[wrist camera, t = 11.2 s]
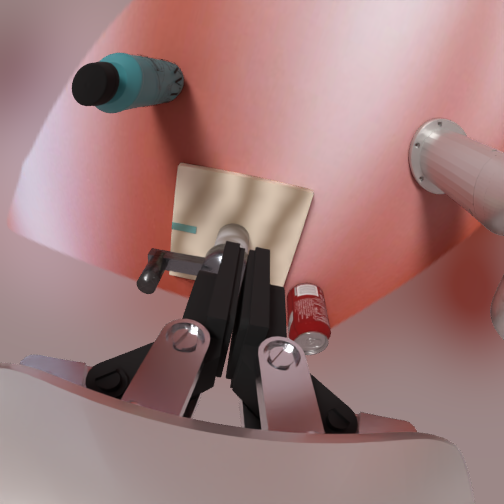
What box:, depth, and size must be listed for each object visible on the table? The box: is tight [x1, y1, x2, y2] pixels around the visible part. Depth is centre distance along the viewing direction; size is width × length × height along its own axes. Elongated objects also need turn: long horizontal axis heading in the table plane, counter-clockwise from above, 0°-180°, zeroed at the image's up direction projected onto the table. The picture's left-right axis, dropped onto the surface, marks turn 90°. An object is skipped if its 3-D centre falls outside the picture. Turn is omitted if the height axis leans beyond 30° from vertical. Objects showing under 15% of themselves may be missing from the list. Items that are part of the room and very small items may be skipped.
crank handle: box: [137, 244, 248, 294], centre depth 36 cm, size 14×6×7 cm, turn 81°
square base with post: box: [169, 163, 314, 287], centre depth 43 cm, size 20×20×8 cm
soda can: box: [287, 283, 331, 355], centre depth 48 cm, size 7×7×12 cm
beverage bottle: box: [72, 53, 184, 113], centre depth 26 cm, size 6×7×20 cm
